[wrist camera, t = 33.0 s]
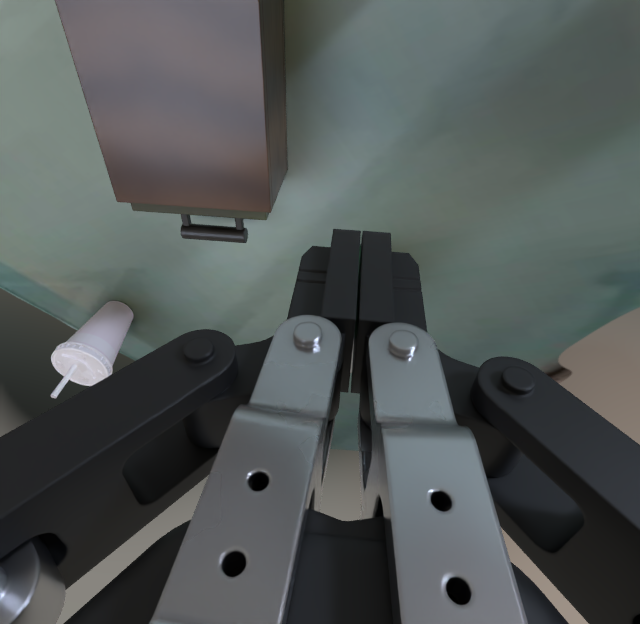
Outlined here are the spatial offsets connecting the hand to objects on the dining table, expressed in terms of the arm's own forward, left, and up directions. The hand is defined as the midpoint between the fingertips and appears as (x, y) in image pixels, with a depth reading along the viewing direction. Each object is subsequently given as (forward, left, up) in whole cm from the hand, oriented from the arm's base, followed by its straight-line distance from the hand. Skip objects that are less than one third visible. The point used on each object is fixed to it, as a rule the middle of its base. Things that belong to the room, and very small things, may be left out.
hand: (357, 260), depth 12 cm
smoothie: (+29, +30, -29) cm, 51 cm away
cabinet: (+13, +2, -29) cm, 32 cm away
